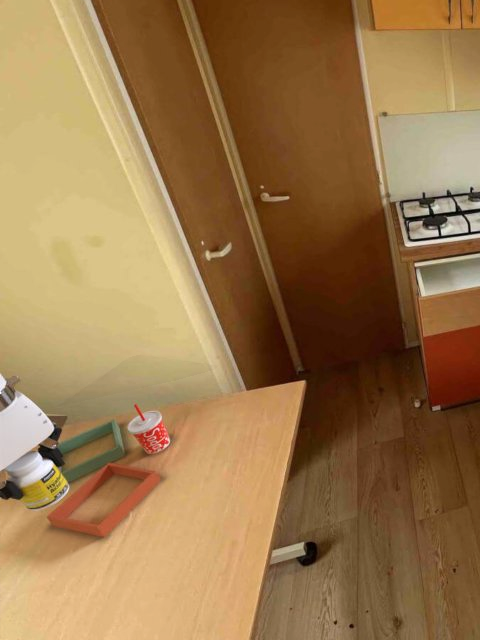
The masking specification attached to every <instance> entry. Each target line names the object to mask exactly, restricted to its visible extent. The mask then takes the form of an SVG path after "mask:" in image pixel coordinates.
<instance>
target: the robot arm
mask: <svg viewBox="0 0 480 640" xmlns="http://www.w3.org/2000/svg"><path fill="white" fill-rule="evenodd" d="M20 382H21V379H20V378H19V377H18V376H16V375H12V376H11V377H9V378H5V377H4V376H3V375H2V373H0V499H2V500H5V501H8V500H9V499H12V500H16V501H21V500H20V499H21V498H23V496H24V495H23V493H22V492H21V491H20V490H19V489H18V487H17V486H16V485H15V484H14V483H13V482H12V481H8V479H7V475H6V470H5V468H6V467H7V466H9V465H10V464H11V463H13V462H14V461H16V460H17V459H18V458H20V457H21V456H23V455H24V454H26V453H27V452H29V451H32V450H33V449H35V447H37V446H39V447H38V448H37V452H38V453H39V454H40V455H41V456H42V458H49V459H51V460H52V461H53V463H54V464H55V465H56V467H61V468H62V467H63V466H65V465H66V462H65V461H64V460H63V459H62V458H64V454H62V453H61V452H60V450H59V449H58V448H57V447H58V445H59V443H60V442H59V439H60V438H61V435H62V432H63V428H64V426H65V424H66V422H67V420H68V416H67V415H64V414H50V413H49V414H48V413H45V412H44V411H43V410H42V409H41V408H40V407H39V406H38V405H37V404H36V403H35V402H34V401H32V400H31V399H30V398H29V397H28V396H26V395H25V394H24V393H22V392H21V391H18V390H15V386H16V385H17V384H18V383H20Z"/></svg>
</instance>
